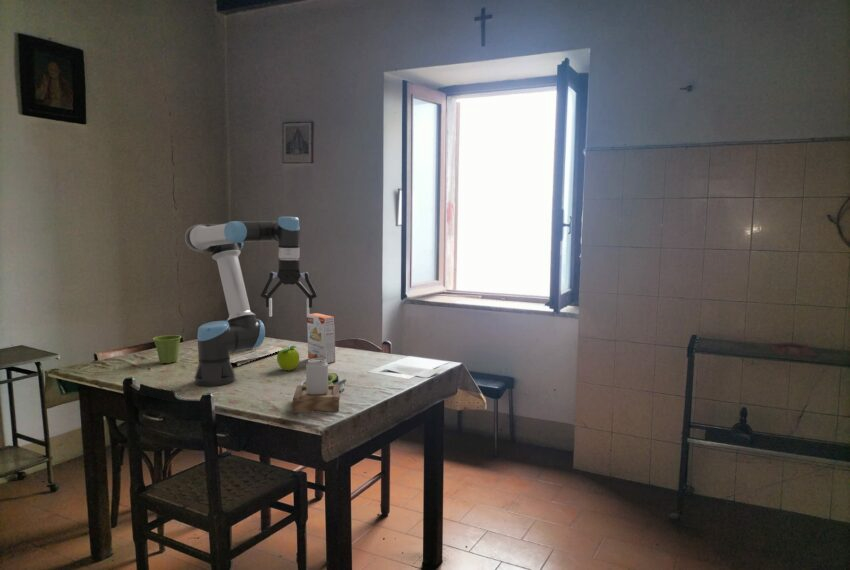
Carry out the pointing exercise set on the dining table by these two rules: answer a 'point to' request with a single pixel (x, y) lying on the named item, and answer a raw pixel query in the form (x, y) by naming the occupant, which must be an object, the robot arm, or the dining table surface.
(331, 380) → the salad plate
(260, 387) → the dining table surface
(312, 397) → the wooden tray
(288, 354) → the fruit
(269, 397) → the dining table surface
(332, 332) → the cracker box
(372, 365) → the dining table surface
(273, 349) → the newspaper
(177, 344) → the plant pot
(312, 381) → the can
